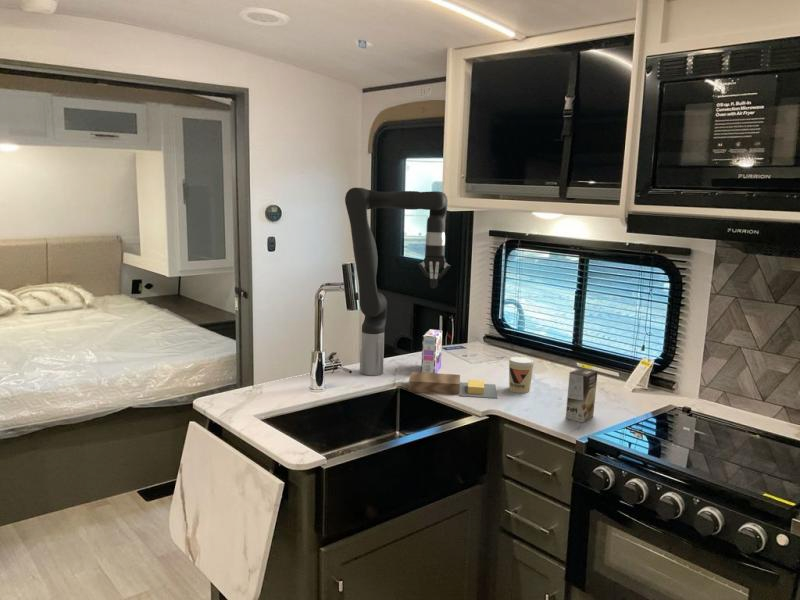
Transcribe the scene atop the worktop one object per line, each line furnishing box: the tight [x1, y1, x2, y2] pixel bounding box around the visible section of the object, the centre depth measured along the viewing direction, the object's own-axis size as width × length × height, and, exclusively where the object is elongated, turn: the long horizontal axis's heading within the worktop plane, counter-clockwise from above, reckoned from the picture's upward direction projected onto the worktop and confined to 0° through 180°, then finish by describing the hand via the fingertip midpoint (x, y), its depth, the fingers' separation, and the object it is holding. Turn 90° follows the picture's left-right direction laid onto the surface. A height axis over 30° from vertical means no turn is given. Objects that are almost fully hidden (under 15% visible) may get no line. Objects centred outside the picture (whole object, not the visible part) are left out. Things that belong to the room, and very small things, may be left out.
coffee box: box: [565, 367, 598, 423], centre depth 208 cm, size 9×6×16 cm
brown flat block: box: [408, 371, 461, 395], centre depth 236 cm, size 19×12×4 cm, turn 84°
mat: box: [458, 381, 499, 400], centre depth 235 cm, size 14×16×1 cm
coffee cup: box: [508, 356, 535, 394], centre depth 236 cm, size 9×9×12 cm
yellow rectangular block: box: [467, 379, 485, 394], centre depth 234 cm, size 6×9×2 cm, turn 174°
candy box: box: [420, 328, 443, 373], centre depth 258 cm, size 14×6×16 cm, turn 165°
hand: (433, 288), depth 241 cm, fingers closed
